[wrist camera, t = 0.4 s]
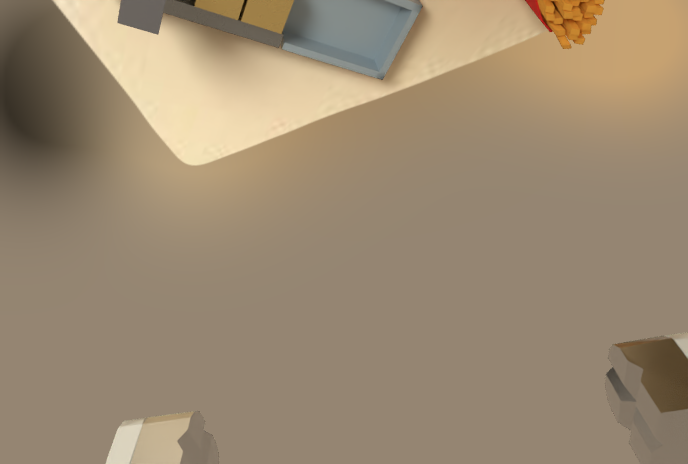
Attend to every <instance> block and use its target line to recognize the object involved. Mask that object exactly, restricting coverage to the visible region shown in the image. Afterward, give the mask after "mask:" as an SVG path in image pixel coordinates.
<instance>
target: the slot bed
mask: <svg viewBox="0 0 688 464" xmlns="http://www.w3.org/2000/svg"><path fill="white" fill-rule="evenodd" d="M163 13H166V14H169V15H173V16H176V17H179V18H183V19H186V20H189V21H192V22H196V23H199V24H202V25H205V26H209V27H212V28H215V29H219V30H222V31H225V32H228V33H232V34H235V35H238V36H242V37H245V38H248V39H251V40H255V41H258V42H261V43H264V44H268V45H271V46H274V47H278V48H279V46H280V43H281V41H282V38H283V36H284V33H283V31H282V34H280V33H277V32H273V31H270V30H267V29H264V28H261V27H258V26H255V25H251V24H248V23H245V22H242V21H241V18H240V15H239V18H238V20H236V19H232V18H229V17H226V16H223V15H220V14H217V13H214V12H210V11H207V10H204V9H201V8H198V7H195V6H194V0H166V2H165V6H164V11H163Z"/></svg>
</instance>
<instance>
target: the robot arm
mask: <svg viewBox="0 0 688 464" xmlns="http://www.w3.org/2000/svg"><path fill="white" fill-rule="evenodd" d="M608 359H609V361H610V362H611V364H612V366H613V367H612V368H611V369H610V370H609V371H608V372H607V374H606V380H605V388H606V393H607V399H608V402H609V405H610V407H611V410H612V412H613V414H614V416H615V418H616V420H617V421H618V423H620V424H622V425H623V426H624V427H626V428H628V429H629V430H631V435H630V441H629V444H630V445H631V447H632V449H633V451H634V453H635V455H636V456H637V458H638V460H639V462H640V464H688V332H687V333H680V334H674V335H668V336H659V337H653V338H647V339H642V340H635V341H629V342H624V343H618V344H613V345H612V346H611V347H610V349H609V355H608ZM204 424H205V420H204V419H203V417H202V415H201V413H200V412H199V411H195V412H187V413H178V414H171V415H163V416H155V417H149V418H142V419H135V420H128V421H124V422H123V423H122V424H121V425H120V427H119V428H118V430H117V433H116V435H115V438H114V441H113V444H112V447H111V449H110V452H109V455H108V458H107V461H106V464H219V452H218V448H217V445H216V441H215V439H214V437H213V435H212V434H210V433H208V432H206V431H204V430H203V429H204Z"/></svg>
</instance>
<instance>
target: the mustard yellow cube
mask: <svg viewBox="0 0 688 464" xmlns="http://www.w3.org/2000/svg"><path fill="white" fill-rule="evenodd" d="M293 2H294V0H244V3H243V6H242V9H241V12H240V18H241V21H242V22H245V23H248V24H251V25H255V26H258V27H261V28H264V29H267V30H270V31H273V32H277V33H280V34H282V31H283V28H284V26H285V23H286V20H287V18H288V15H289V13H290V10H291V7H292V5H293Z"/></svg>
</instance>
